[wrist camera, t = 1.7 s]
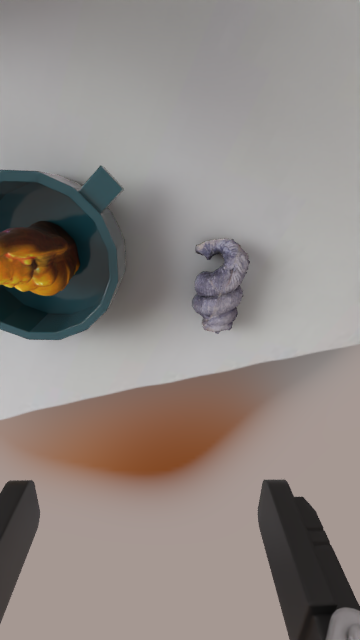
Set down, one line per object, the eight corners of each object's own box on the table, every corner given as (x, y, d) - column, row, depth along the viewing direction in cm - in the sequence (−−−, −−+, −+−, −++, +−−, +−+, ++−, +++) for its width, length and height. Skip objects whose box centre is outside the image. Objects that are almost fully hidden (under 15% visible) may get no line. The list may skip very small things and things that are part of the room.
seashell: (210, 233, 33) (211, 319, 37) (180, 241, 29) (185, 337, 33) (258, 235, 30) (253, 329, 34) (232, 245, 26) (230, 350, 30)
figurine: (55, 293, 33) (-8, 348, 21) (8, 241, 31) (-91, 269, 19) (101, 258, 32) (61, 296, 20) (55, 202, 30) (-20, 206, 18)
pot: (-64, 268, 32) (-107, 282, 27) (59, 113, 27) (34, 95, 22) (50, 357, 36) (31, 383, 31) (173, 236, 32) (174, 244, 27)
